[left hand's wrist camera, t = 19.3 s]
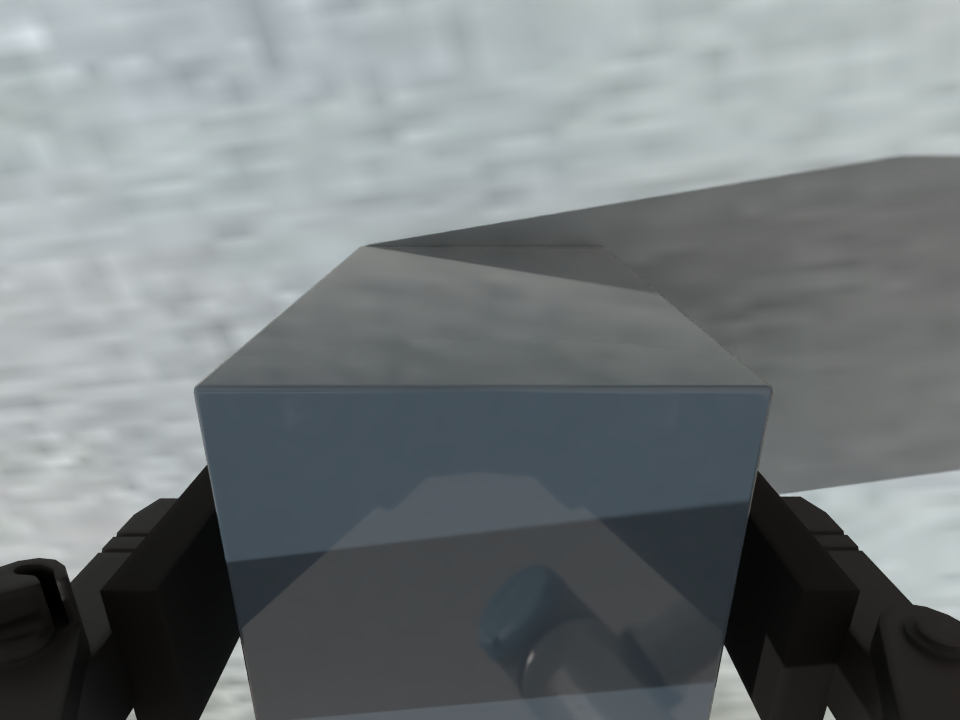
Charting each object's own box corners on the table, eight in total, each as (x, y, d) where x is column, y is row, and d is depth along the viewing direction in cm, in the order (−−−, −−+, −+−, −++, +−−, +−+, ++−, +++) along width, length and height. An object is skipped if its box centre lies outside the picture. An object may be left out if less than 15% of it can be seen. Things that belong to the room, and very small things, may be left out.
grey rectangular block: (379, 522, 19) (284, 878, 10) (359, 245, 16) (190, 387, 7) (583, 522, 19) (680, 878, 10) (604, 246, 16) (776, 386, 6)
